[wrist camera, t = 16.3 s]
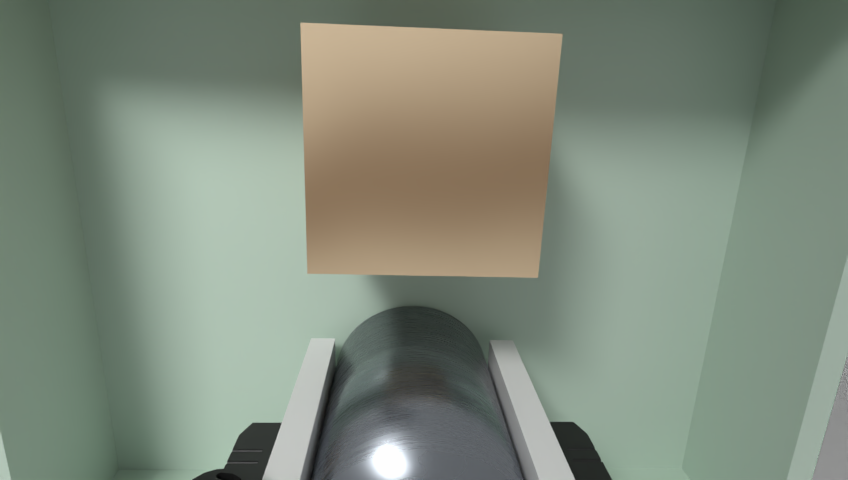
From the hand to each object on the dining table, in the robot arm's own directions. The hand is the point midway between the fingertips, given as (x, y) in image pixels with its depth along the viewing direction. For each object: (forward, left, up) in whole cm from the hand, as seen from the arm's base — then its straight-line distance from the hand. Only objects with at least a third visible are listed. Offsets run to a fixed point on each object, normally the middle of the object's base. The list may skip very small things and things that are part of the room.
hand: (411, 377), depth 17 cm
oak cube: (-8, 0, -1) cm, 8 cm away
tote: (-4, 0, -1) cm, 4 cm away
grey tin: (0, 0, 0) cm, 0 cm away
